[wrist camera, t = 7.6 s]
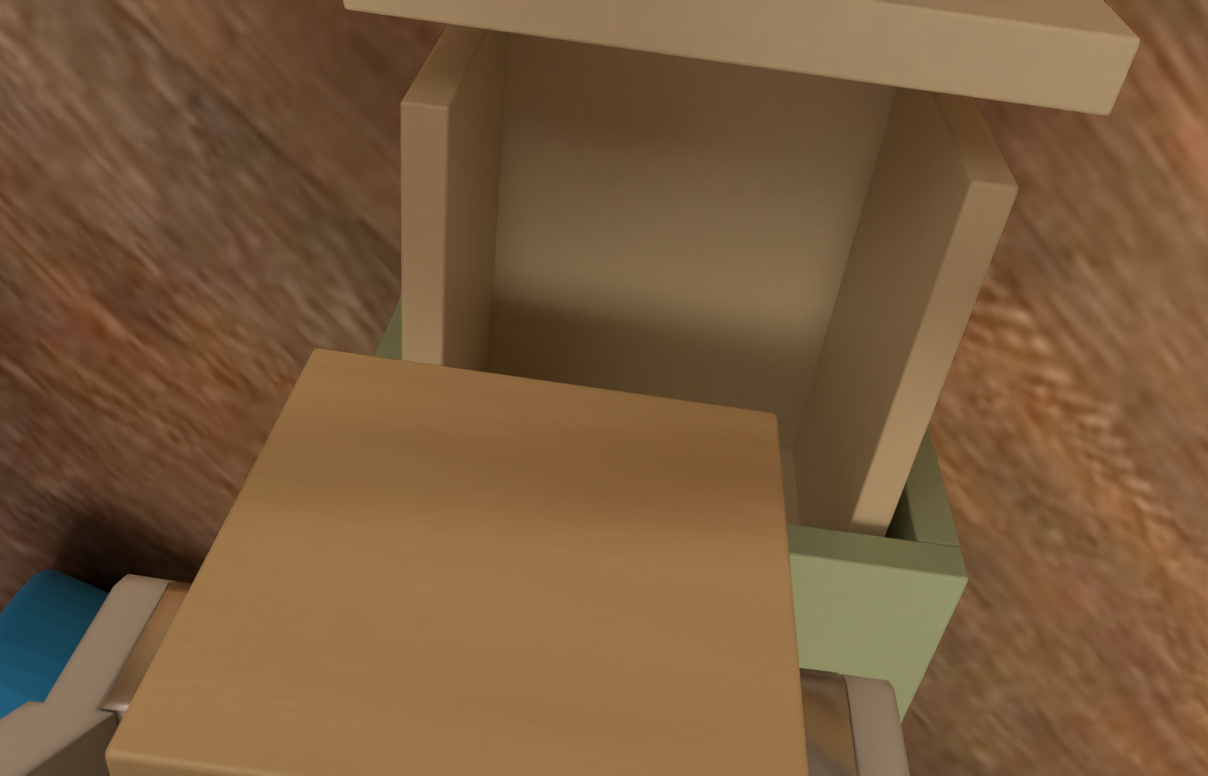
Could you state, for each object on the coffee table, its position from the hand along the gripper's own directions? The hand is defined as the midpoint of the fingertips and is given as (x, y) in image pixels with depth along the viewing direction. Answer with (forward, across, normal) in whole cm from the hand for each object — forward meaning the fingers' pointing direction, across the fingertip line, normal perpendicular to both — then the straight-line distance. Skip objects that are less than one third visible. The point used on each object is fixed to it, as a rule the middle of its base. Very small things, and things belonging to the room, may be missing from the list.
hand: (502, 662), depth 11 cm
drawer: (+16, -2, 0) cm, 17 cm away
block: (+2, 0, 0) cm, 2 cm away
